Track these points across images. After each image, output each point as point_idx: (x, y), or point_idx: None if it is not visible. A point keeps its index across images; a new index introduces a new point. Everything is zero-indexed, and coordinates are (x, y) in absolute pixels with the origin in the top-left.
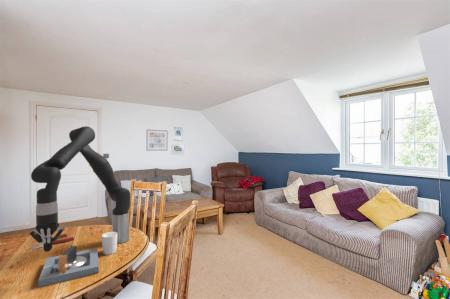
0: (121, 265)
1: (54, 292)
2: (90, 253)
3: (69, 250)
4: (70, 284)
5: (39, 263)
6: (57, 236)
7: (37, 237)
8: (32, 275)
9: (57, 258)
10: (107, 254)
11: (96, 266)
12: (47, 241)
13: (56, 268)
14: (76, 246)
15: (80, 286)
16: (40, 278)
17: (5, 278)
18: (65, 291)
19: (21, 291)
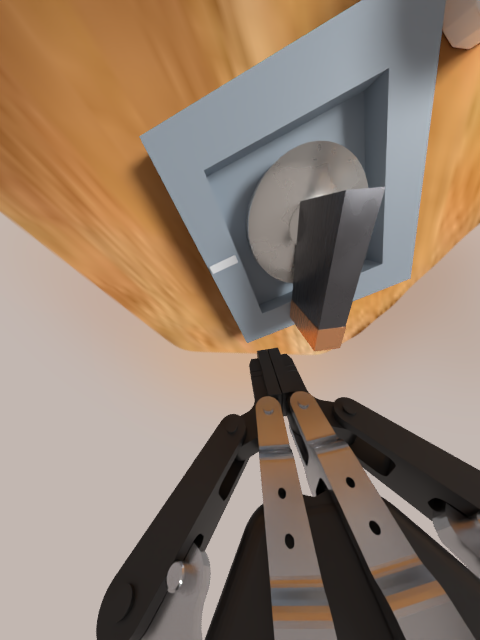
0: (471, 223)
1: (293, 349)
2: (391, 97)
3: (347, 274)
4: None
5: (101, 132)
6: (391, 463)
7: (226, 502)
8: (175, 266)
9: (214, 160)
10: (462, 47)
11: (403, 277)
12: (293, 434)
13: (239, 228)
14: (380, 189)
15: None
16: (247, 335)
17: (90, 278)
18: None
19: (213, 343)
